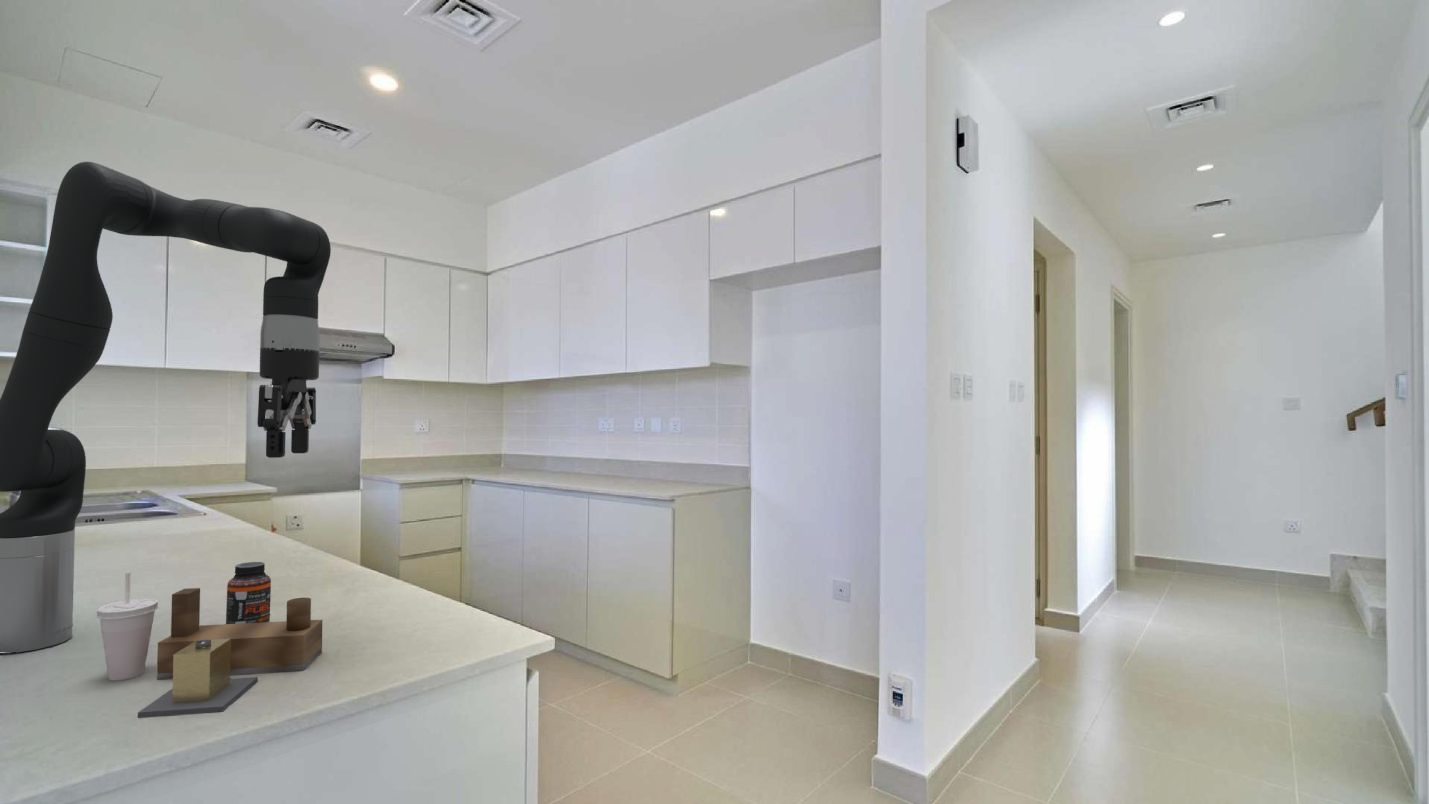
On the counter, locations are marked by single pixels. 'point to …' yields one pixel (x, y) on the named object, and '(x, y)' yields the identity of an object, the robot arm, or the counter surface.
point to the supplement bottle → (248, 594)
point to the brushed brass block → (201, 670)
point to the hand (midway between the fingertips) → (288, 455)
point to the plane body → (245, 638)
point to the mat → (216, 704)
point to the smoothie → (126, 634)
